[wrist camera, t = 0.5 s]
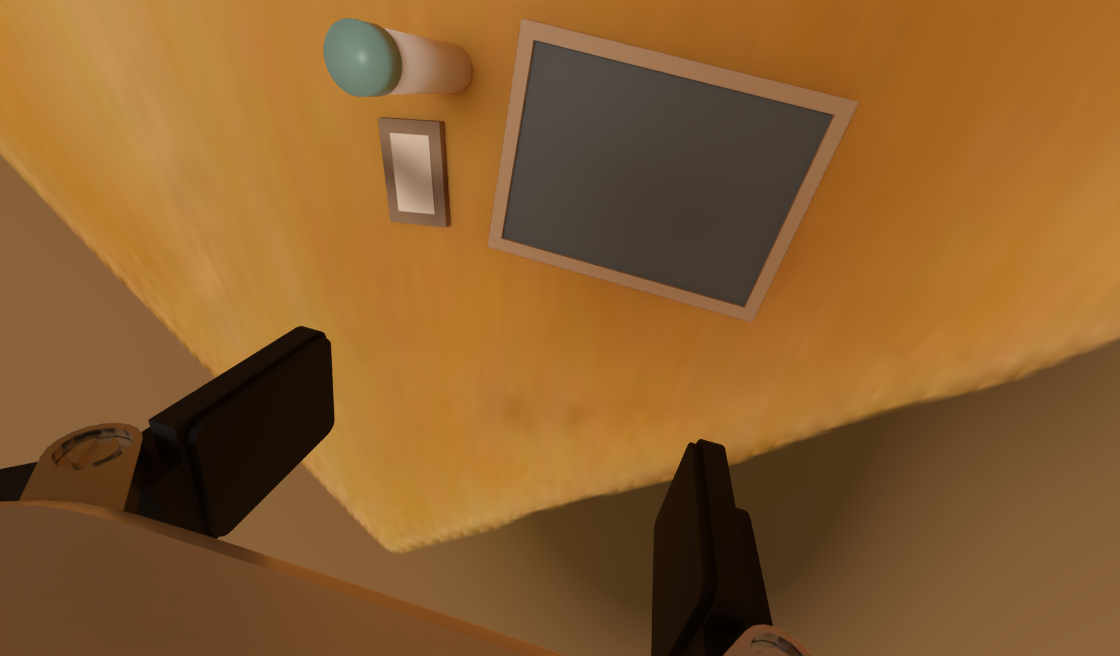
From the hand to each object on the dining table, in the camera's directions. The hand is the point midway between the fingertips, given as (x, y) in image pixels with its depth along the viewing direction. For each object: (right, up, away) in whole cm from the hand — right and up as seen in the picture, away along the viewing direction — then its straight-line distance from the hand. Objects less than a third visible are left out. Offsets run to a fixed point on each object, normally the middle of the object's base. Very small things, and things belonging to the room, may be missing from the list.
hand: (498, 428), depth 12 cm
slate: (+8, +13, +23) cm, 28 cm away
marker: (-6, +21, +22) cm, 31 cm away
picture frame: (-10, +15, +26) cm, 32 cm away
